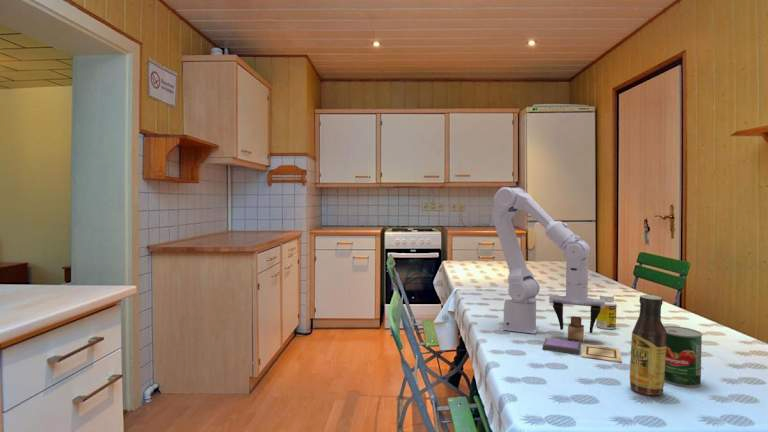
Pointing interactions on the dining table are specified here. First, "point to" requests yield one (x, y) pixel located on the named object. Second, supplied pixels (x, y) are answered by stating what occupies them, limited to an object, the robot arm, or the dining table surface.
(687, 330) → the canned tomato
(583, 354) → the card sheet
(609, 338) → the dining table surface
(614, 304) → the supplement bottle
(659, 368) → the sauce bottle
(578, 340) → the stamp
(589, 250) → the robot arm
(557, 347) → the ink pad
